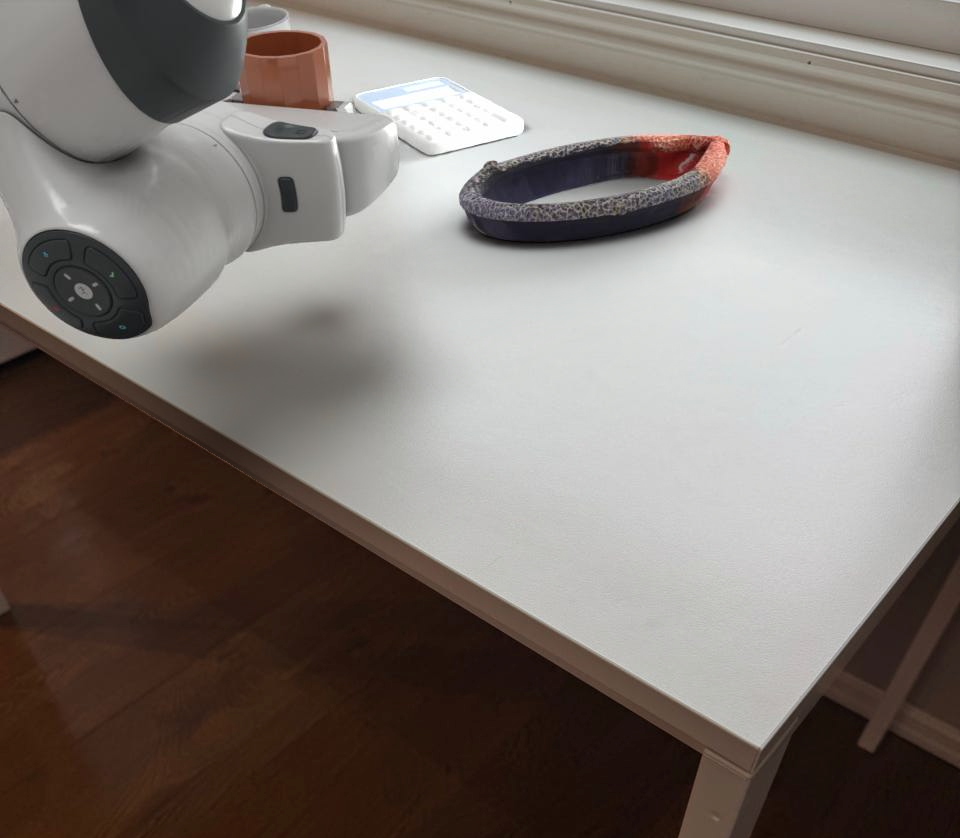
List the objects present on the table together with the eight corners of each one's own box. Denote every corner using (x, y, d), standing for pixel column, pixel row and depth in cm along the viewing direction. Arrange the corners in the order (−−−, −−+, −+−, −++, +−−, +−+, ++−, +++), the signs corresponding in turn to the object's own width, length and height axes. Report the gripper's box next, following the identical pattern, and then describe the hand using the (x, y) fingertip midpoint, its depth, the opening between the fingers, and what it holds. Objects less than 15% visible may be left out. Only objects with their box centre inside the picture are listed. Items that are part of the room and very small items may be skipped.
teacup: (273, 103, 123) (262, 30, 117) (200, 94, 125) (185, 23, 120) (323, 69, 132) (315, 1, 126) (253, 62, 134) (242, -5, 129)
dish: (432, 212, 99) (429, 161, 96) (685, 160, 108) (692, 111, 104) (497, 274, 89) (496, 220, 86) (770, 211, 98) (781, 160, 94)
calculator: (428, 158, 109) (428, 140, 108) (350, 108, 121) (349, 91, 120) (527, 134, 114) (527, 117, 112) (443, 88, 126) (442, 72, 124)
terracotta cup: (264, 210, 73) (238, 61, 66) (253, 177, 77) (227, 35, 70) (350, 198, 74) (334, 51, 67) (334, 167, 79) (317, 26, 71)
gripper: (86, 212, 68) (179, 141, 77) (361, 243, 64) (425, 164, 73) (56, 114, 63) (159, 51, 72) (351, 141, 59) (420, 71, 68)
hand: (294, 108), depth 72 cm, fingers closed on terracotta cup, 7 cm apart
